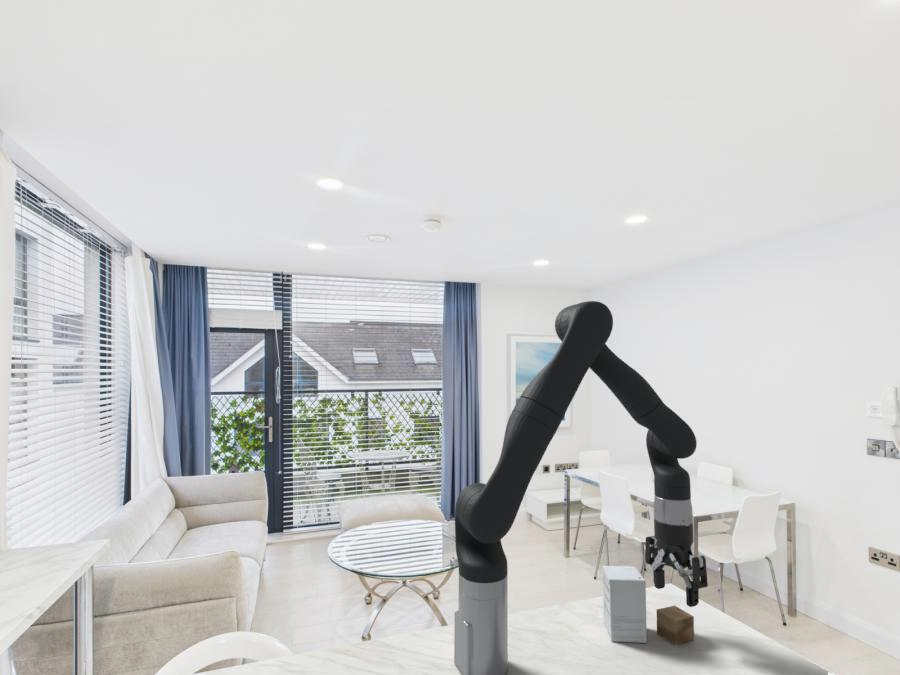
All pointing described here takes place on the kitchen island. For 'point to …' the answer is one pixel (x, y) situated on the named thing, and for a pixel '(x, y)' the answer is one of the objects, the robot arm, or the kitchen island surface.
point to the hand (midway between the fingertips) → (675, 596)
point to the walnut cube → (675, 625)
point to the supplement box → (624, 604)
